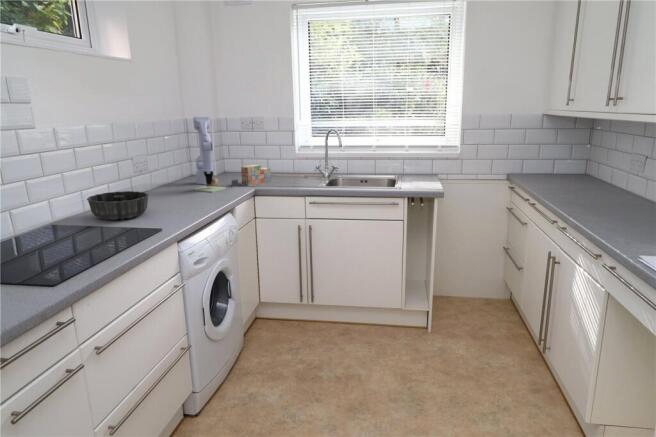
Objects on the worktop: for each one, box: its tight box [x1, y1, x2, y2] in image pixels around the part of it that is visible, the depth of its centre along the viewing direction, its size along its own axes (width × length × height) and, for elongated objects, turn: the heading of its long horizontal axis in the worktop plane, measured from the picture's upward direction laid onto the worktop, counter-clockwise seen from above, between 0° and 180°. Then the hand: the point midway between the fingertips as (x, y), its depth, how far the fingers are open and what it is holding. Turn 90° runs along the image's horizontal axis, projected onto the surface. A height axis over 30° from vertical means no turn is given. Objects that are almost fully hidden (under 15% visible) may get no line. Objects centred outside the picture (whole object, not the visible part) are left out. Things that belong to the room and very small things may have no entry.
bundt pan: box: [86, 190, 150, 221], centre depth 207 cm, size 26×26×10 cm
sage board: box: [192, 185, 227, 193], centre depth 272 cm, size 16×12×1 cm
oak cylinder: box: [212, 178, 219, 187], centre depth 282 cm, size 4×4×5 cm
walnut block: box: [205, 178, 214, 187], centre depth 271 cm, size 4×4×6 cm
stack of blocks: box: [240, 164, 271, 186], centre depth 295 cm, size 21×6×12 cm, turn 145°
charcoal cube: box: [230, 178, 239, 187], centre depth 285 cm, size 4×4×4 cm
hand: (209, 183), depth 271 cm, fingers closed on walnut block, 4 cm apart
